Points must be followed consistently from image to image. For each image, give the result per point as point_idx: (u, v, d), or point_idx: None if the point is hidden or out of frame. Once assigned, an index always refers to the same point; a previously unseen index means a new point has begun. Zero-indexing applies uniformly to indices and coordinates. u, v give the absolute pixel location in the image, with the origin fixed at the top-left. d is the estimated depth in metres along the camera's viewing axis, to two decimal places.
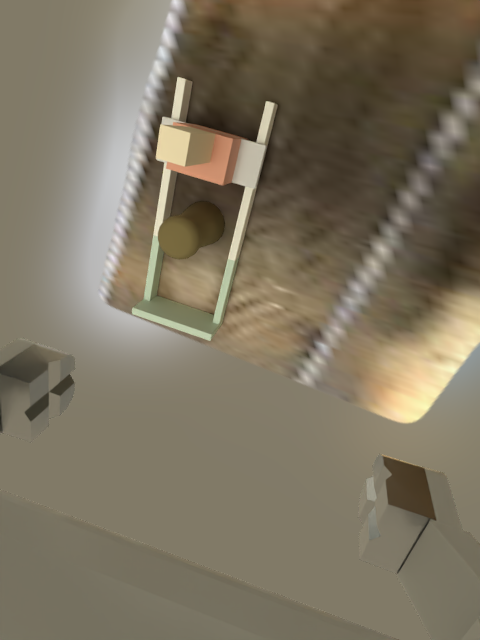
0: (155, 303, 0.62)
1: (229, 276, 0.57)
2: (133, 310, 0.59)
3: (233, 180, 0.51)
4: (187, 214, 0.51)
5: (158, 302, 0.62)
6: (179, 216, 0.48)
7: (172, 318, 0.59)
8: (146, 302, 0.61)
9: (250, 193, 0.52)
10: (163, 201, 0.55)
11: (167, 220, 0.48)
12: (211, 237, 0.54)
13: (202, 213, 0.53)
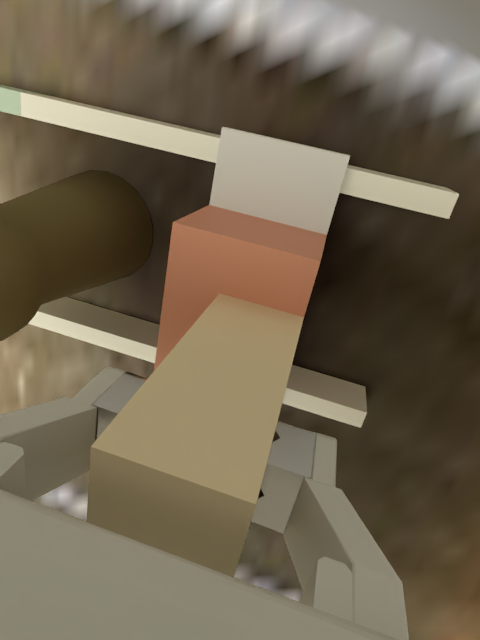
0: None
1: None
2: None
3: None
4: (71, 255, 0.17)
5: None
6: (23, 287, 0.14)
7: None
8: None
9: None
10: (119, 130, 0.18)
11: None
12: None
13: (96, 273, 0.19)
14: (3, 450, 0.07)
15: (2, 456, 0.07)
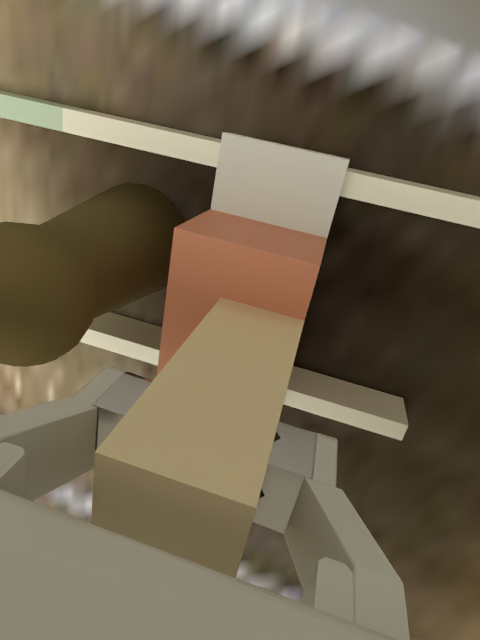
0: None
1: None
2: None
3: None
4: (118, 271, 0.17)
5: None
6: (78, 307, 0.14)
7: None
8: None
9: None
10: (162, 145, 0.18)
11: (47, 278, 0.13)
12: None
13: (138, 288, 0.19)
14: (4, 450, 0.07)
15: (2, 456, 0.07)
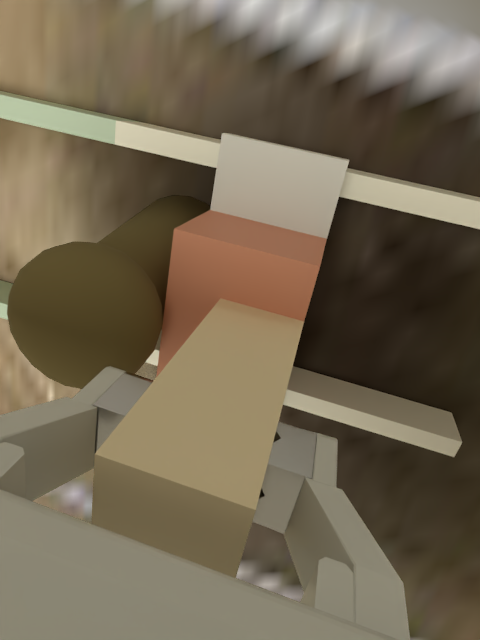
0: None
1: None
2: None
3: None
4: None
5: None
6: (150, 330, 0.14)
7: None
8: None
9: None
10: None
11: (123, 302, 0.13)
12: None
13: None
14: (4, 450, 0.07)
15: (2, 456, 0.07)
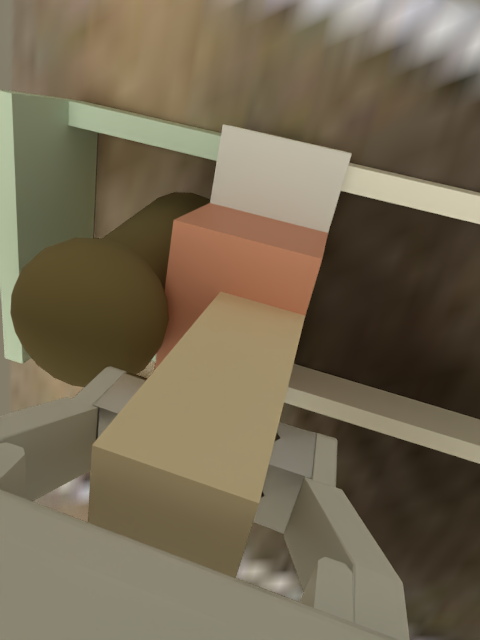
0: (66, 148, 0.19)
1: None
2: (2, 96, 0.15)
3: None
4: None
5: (74, 152, 0.20)
6: (156, 323, 0.14)
7: (31, 238, 0.19)
8: (60, 119, 0.18)
9: (402, 436, 0.21)
10: (400, 194, 0.17)
11: (128, 295, 0.13)
12: None
13: None
14: (4, 450, 0.07)
15: (3, 456, 0.07)
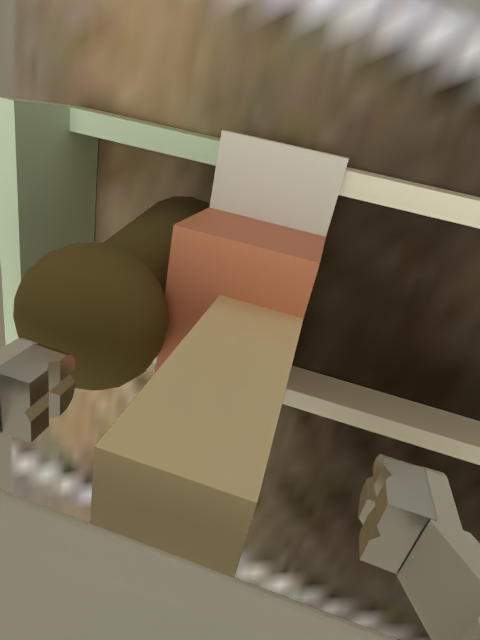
0: (67, 153, 0.19)
1: None
2: (4, 103, 0.16)
3: None
4: None
5: (75, 157, 0.20)
6: (157, 327, 0.14)
7: (33, 242, 0.19)
8: (61, 125, 0.18)
9: (400, 437, 0.21)
10: (397, 199, 0.17)
11: (129, 299, 0.13)
12: None
13: None
14: None
15: None
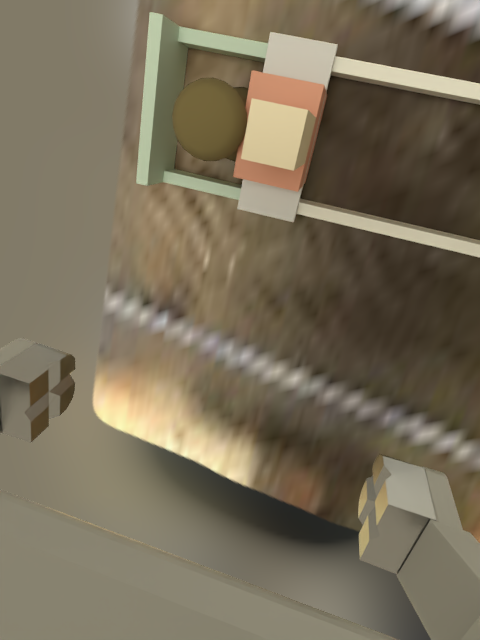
0: (176, 55, 0.34)
1: None
2: (157, 16, 0.30)
3: None
4: None
5: (178, 59, 0.34)
6: (244, 120, 0.28)
7: (159, 104, 0.33)
8: (175, 36, 0.33)
9: (371, 229, 0.36)
10: (364, 71, 0.31)
11: (234, 99, 0.27)
12: None
13: None
14: None
15: None
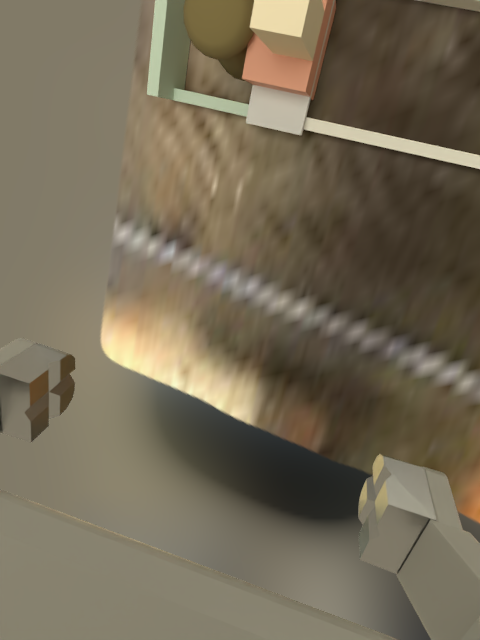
0: None
1: None
2: None
3: (255, 87, 0.35)
4: None
5: None
6: None
7: (170, 12, 0.34)
8: None
9: (377, 143, 0.36)
10: None
11: None
12: (229, 66, 0.35)
13: None
14: None
15: None
